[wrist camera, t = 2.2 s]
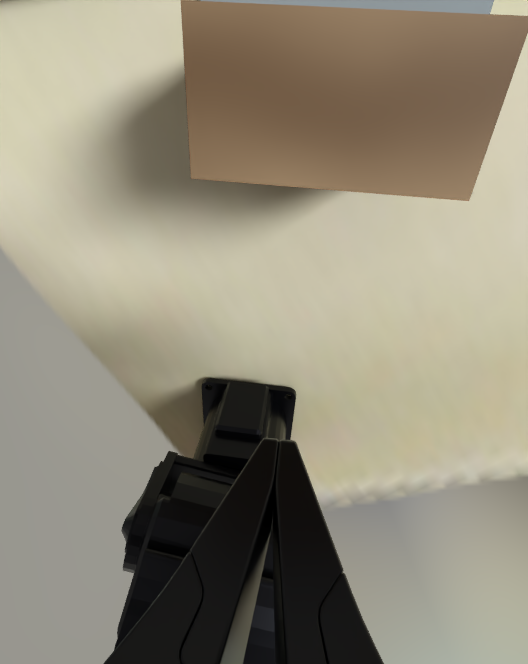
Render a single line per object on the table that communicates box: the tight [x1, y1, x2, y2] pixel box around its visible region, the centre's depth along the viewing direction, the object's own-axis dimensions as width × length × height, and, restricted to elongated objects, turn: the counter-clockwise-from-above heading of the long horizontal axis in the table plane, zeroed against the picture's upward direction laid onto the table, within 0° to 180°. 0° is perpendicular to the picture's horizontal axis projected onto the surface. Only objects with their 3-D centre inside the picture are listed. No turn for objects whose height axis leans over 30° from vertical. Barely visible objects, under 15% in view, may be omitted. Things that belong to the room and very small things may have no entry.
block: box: [181, 0, 528, 201], centre depth 13 cm, size 4×8×8 cm, turn 87°
